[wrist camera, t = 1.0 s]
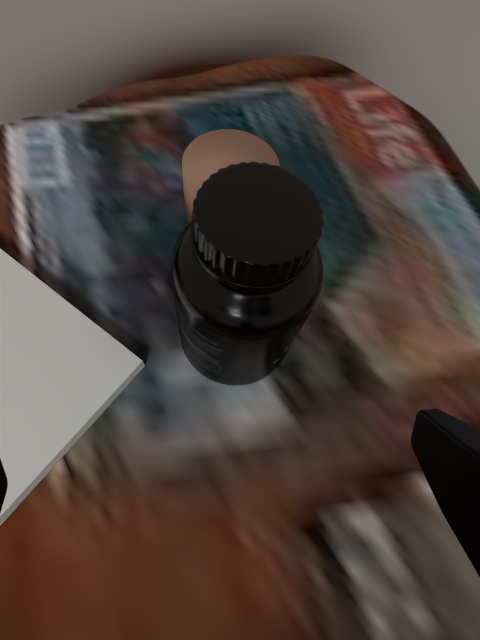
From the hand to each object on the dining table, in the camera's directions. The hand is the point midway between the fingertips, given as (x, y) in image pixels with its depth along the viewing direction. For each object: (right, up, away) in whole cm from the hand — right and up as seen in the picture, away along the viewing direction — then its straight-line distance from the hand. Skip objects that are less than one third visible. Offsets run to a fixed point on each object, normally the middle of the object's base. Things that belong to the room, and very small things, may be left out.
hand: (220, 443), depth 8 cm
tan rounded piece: (-1, +10, +20) cm, 23 cm away
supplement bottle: (0, +2, +17) cm, 17 cm away
